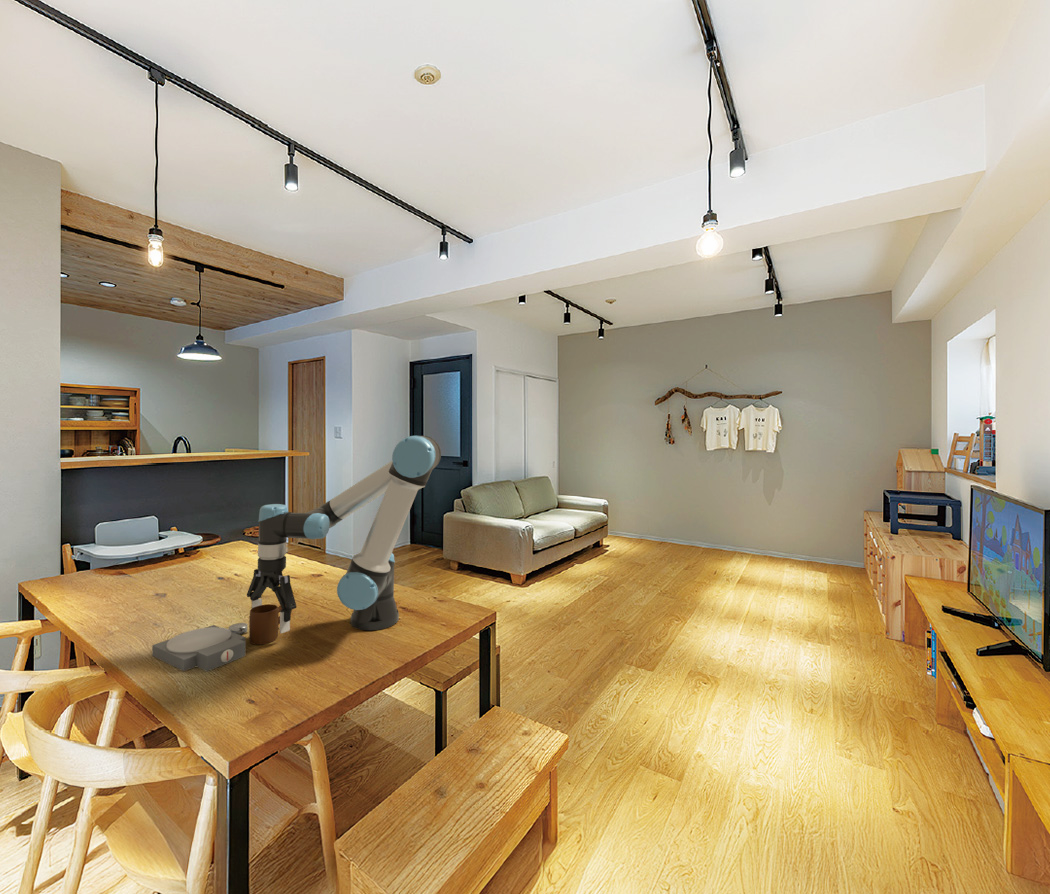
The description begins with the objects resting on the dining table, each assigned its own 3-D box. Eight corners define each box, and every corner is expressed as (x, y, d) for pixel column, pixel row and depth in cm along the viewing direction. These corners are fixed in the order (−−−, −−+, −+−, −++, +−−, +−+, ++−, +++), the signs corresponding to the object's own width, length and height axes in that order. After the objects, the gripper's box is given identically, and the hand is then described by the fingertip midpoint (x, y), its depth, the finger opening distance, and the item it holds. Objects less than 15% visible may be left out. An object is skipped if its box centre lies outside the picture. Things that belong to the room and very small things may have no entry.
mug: (285, 627, 152) (285, 598, 151) (297, 634, 147) (297, 604, 147) (244, 640, 142) (244, 608, 142) (256, 647, 138) (256, 615, 137)
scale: (256, 651, 135) (256, 638, 135) (195, 676, 121) (195, 661, 121) (213, 634, 145) (213, 621, 145) (152, 655, 131) (152, 641, 131)
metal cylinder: (250, 631, 149) (250, 625, 149) (234, 637, 144) (234, 630, 144) (241, 627, 151) (241, 621, 151) (224, 633, 147) (224, 627, 147)
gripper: (310, 560, 141) (308, 631, 142) (258, 547, 153) (257, 613, 154) (287, 566, 135) (285, 641, 135) (235, 552, 147) (233, 620, 147)
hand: (270, 626), depth 145 cm, fingers open, 13 cm apart
